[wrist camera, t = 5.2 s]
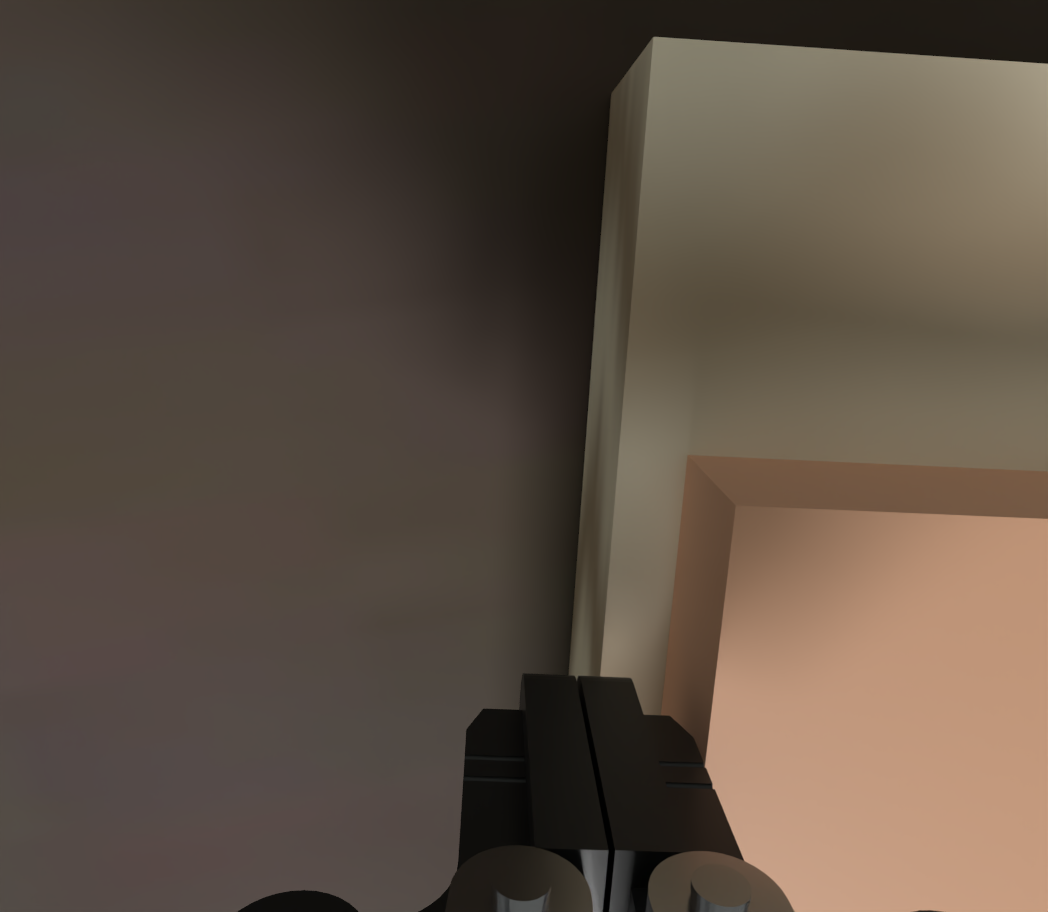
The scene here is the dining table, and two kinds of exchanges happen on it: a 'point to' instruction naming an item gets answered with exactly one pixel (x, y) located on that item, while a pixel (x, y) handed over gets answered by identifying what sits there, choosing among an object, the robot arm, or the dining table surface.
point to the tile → (870, 677)
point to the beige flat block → (802, 293)
